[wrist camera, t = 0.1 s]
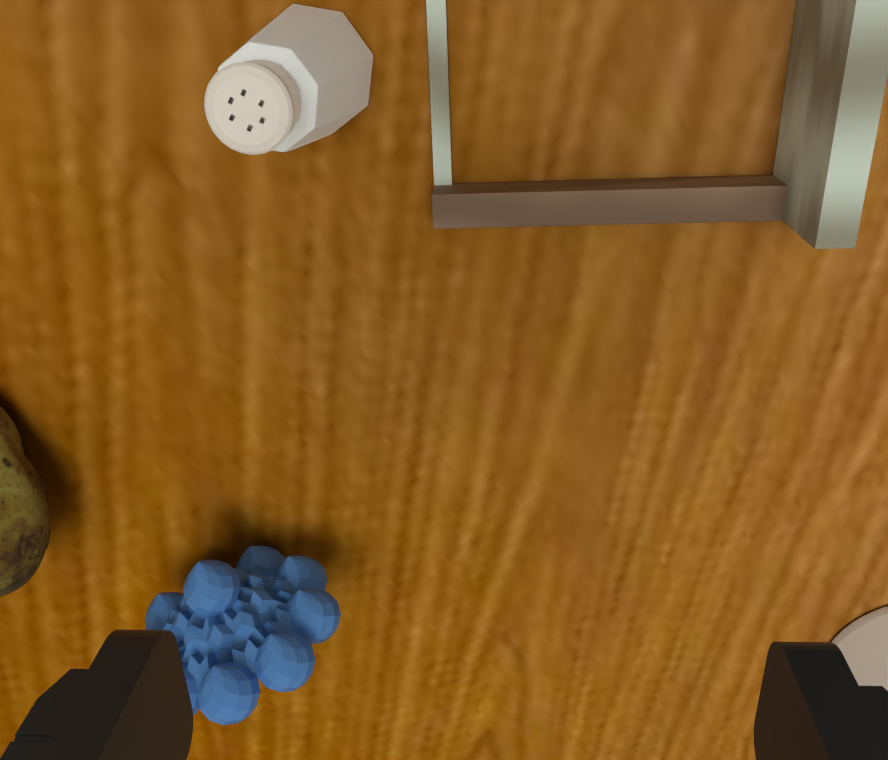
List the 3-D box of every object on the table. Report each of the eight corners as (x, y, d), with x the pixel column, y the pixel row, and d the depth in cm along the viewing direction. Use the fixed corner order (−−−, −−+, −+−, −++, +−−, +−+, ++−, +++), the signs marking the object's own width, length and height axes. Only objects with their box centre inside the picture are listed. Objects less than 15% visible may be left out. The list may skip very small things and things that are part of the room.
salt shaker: (399, 48, 35) (364, 80, 25) (339, 158, 37) (285, 227, 27) (285, -26, 34) (202, -23, 24) (230, 92, 36) (134, 139, 26)
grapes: (330, 468, 45) (280, 626, 34) (372, 564, 47) (338, 739, 37) (139, 515, 47) (34, 679, 36) (190, 605, 50) (107, 781, 39)
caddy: (422, -110, 32) (408, -126, 27) (855, -131, 31) (930, -152, 26) (435, 216, 38) (426, 257, 33) (802, 207, 37) (854, 248, 32)
